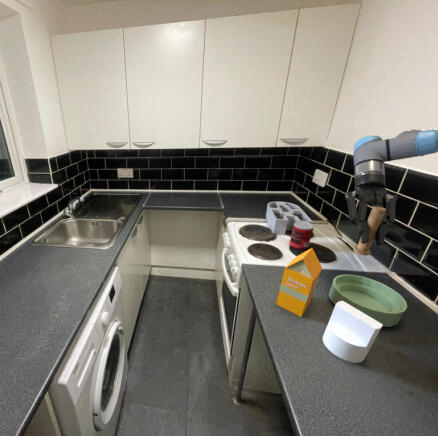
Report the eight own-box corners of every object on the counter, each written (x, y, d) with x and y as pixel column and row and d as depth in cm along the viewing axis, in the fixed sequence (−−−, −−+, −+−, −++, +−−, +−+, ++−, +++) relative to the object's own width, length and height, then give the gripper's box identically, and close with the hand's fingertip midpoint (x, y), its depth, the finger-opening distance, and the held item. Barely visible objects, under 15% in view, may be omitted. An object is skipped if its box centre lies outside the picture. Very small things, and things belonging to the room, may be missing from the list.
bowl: (382, 294, 79) (389, 280, 76) (411, 336, 64) (421, 320, 62) (322, 283, 85) (326, 270, 82) (337, 318, 70) (343, 304, 68)
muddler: (366, 250, 78) (384, 206, 71) (371, 256, 75) (391, 211, 68) (351, 248, 79) (368, 205, 73) (356, 254, 76) (373, 209, 69)
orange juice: (310, 302, 76) (327, 252, 68) (301, 317, 71) (318, 264, 63) (285, 291, 82) (298, 242, 74) (275, 303, 77) (287, 253, 68)
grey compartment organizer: (272, 234, 119) (275, 219, 116) (262, 213, 144) (265, 200, 140) (308, 237, 115) (313, 222, 112) (292, 215, 140) (295, 202, 136)
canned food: (308, 243, 110) (313, 223, 106) (308, 251, 104) (314, 230, 99) (289, 239, 114) (294, 219, 109) (288, 247, 108) (293, 226, 103)
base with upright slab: (315, 339, 64) (327, 307, 59) (335, 327, 67) (348, 296, 62) (352, 368, 57) (369, 335, 52) (372, 354, 60) (391, 320, 55)
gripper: (392, 185, 79) (398, 250, 72) (335, 181, 85) (336, 242, 78) (408, 173, 72) (416, 244, 65) (345, 170, 78) (346, 235, 71)
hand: (372, 243), depth 71 cm, fingers closed on muddler, 3 cm apart
